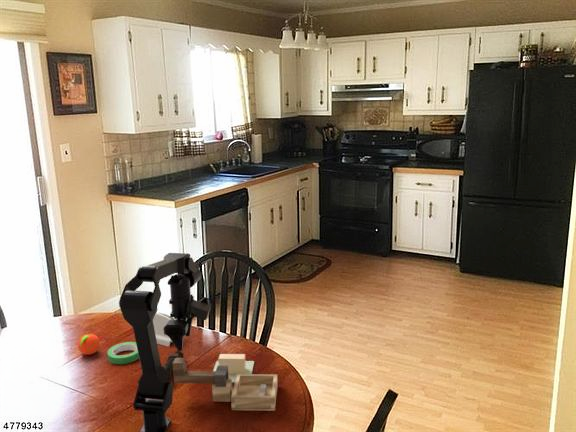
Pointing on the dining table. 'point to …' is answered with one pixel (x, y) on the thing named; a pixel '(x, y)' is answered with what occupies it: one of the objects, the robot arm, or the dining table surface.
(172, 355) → the bolt
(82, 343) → the clementine
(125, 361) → the tape roll
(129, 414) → the dining table surface
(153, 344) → the robot arm
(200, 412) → the dining table surface
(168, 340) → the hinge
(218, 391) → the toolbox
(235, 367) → the lid
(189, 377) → the key
